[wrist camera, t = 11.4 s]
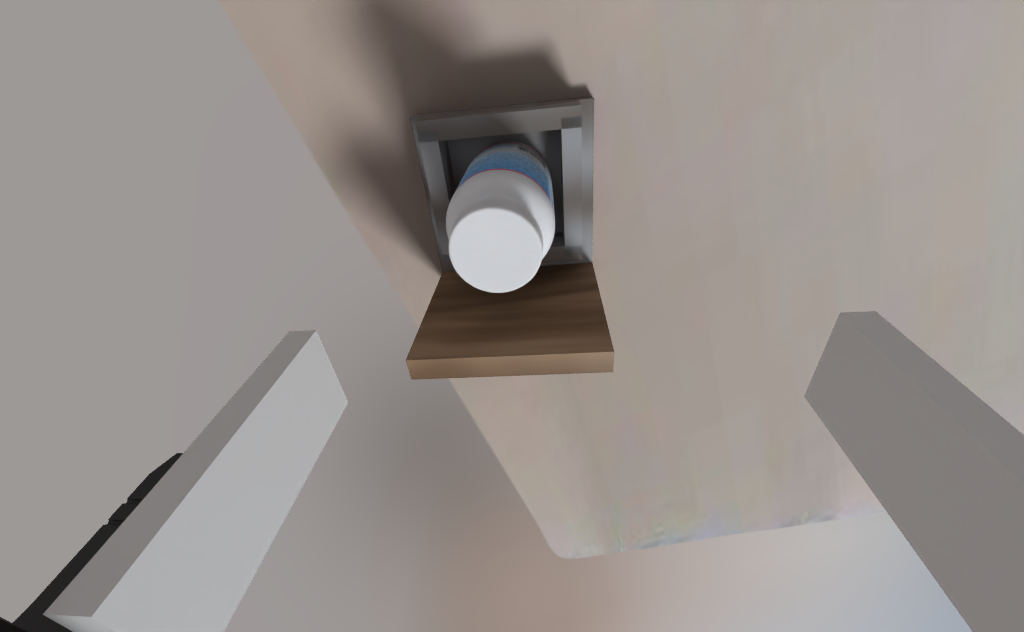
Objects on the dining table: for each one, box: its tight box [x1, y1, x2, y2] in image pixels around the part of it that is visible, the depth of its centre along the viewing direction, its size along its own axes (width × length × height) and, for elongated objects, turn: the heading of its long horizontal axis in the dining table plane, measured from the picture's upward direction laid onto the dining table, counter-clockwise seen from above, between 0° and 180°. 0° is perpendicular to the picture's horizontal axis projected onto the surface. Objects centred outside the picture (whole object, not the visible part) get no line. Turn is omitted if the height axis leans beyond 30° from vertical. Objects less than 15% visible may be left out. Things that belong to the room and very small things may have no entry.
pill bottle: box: [446, 141, 555, 293], centre depth 24 cm, size 6×6×11 cm
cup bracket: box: [406, 97, 614, 379], centre depth 26 cm, size 13×12×12 cm
